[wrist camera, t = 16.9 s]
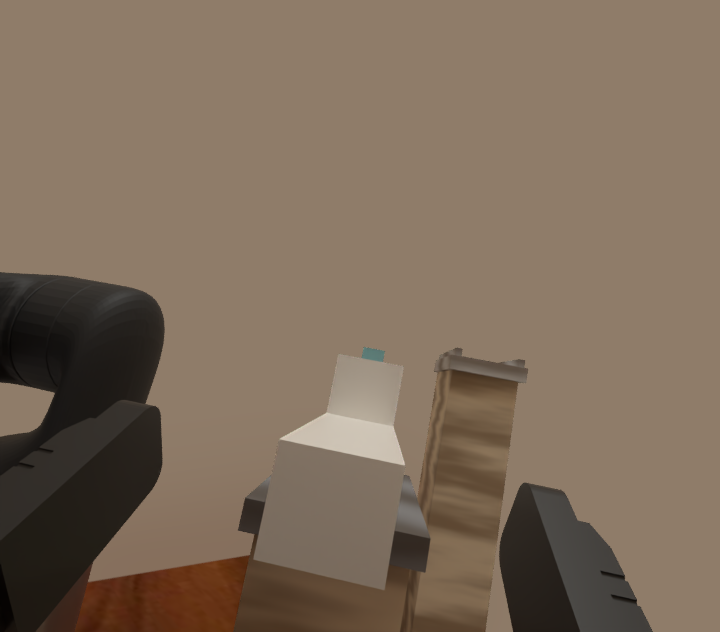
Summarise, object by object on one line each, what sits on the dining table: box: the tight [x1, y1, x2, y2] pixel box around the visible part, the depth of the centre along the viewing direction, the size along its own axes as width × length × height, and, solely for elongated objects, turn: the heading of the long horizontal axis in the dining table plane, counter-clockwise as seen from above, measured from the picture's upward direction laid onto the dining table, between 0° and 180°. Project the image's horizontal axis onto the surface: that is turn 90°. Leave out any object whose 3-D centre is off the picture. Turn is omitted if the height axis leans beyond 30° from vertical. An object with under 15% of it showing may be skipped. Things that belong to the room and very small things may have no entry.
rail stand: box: [400, 348, 528, 632], centre depth 47 cm, size 13×9×35 cm
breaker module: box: [253, 347, 405, 590], centre depth 25 cm, size 21×4×9 cm, turn 176°
